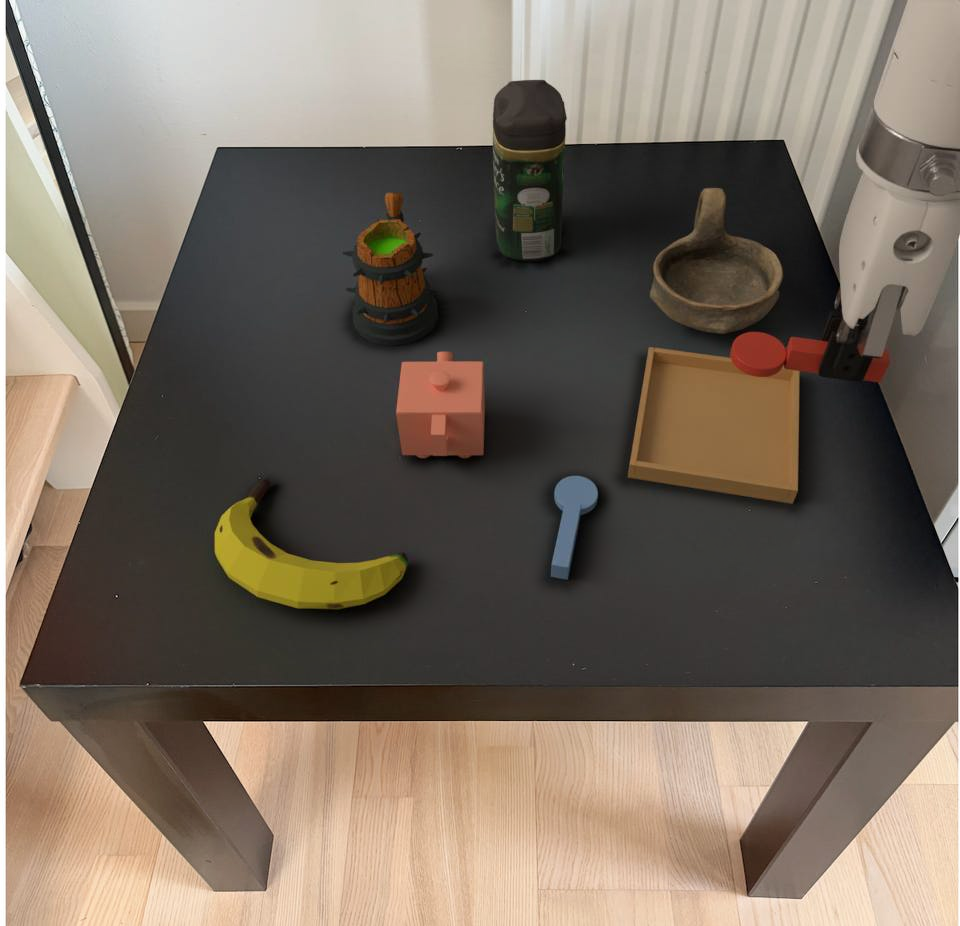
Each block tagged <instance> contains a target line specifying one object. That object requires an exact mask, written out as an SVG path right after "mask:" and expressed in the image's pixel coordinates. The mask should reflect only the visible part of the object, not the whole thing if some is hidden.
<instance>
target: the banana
mask: <svg viewBox="0 0 960 926" xmlns="http://www.w3.org/2000/svg"><path fill="white" fill-rule="evenodd" d="M270 486H271V482H270V478H265V479H264V480H262V481H260V482H257V483H256V484H255V485H254V487H252V488H251V490H250V491H249V493H248V495H247V496H246V497H245V498H244V499H242V500H239V501H237V502H235V503H234V504H233V505H231V506H230V507H229V508H228V509H227V510H226V511H225V512H224V513H223V514H222V515H220V518H219V520H218V524H217V526H216V529H215V531H214V555H215V557H216V559H217V561H218V563H219V564H220V566H221V567H222V570H224V573H225V574H226V575H227V577H228V579H230V580H231V581H232V582H235V584H238V586H240V587H242V588H243V589H245V590H247V592H249V593H251V594H253V595H254V596H255V597H257V598H259V599H262V600H266V601H269V602H274V603H277V604H281V605H284V606H288V607H292V608H295V609H309V610H311V609H313V610H314V609H315V610H342V609H346V608H353V607H356V606H362V605H366V604H367V603H369V602H372V601H374V600H376V599H379V598H381V597H383V596H384V595H386V594H387V593H388V592H389V591H391V589H393V588H394V587H395V586H396V585H397V584H398V583H400V582H401V580H402V579H403V577H404V575H405V573H406V570H407V568H408V565H409V558H408V556H407V553H405V552H398V553H396V554H392V555H388V556H387V555H386V556H383V557H379V558H376V559H371V560H365V561H359V562H333V561H332V562H331V561H319V560H313V559H308V558H306V557H302V556H297V555H294V554H291V553H287V552H286V551H285V550H283V549H281V548H279V547H277V546H276V545H274V544H272V543H271V542H270V541H268V540H267V539H266V538H265V537H264V536H263V535H262V534H261V533H260V532H259V530H258V529H257V528H256V527H255V526H254V524H253V522H252V520H251V518H252V515H253V513H254V511H255V509H256V507H257V506H258V505H259V503H260V502H261V501H262V500H263V498H264V496H265V495H266V493H267V491H268V489H269V488H270Z"/></svg>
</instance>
